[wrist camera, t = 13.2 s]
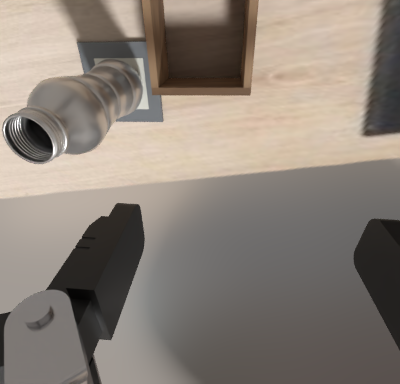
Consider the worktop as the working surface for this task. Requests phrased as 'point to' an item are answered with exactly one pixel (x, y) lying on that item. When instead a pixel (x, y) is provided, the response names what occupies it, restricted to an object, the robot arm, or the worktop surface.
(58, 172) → the worktop surface
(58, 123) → the plastic bottle
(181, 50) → the worktop surface
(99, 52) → the mat
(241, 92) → the crate
